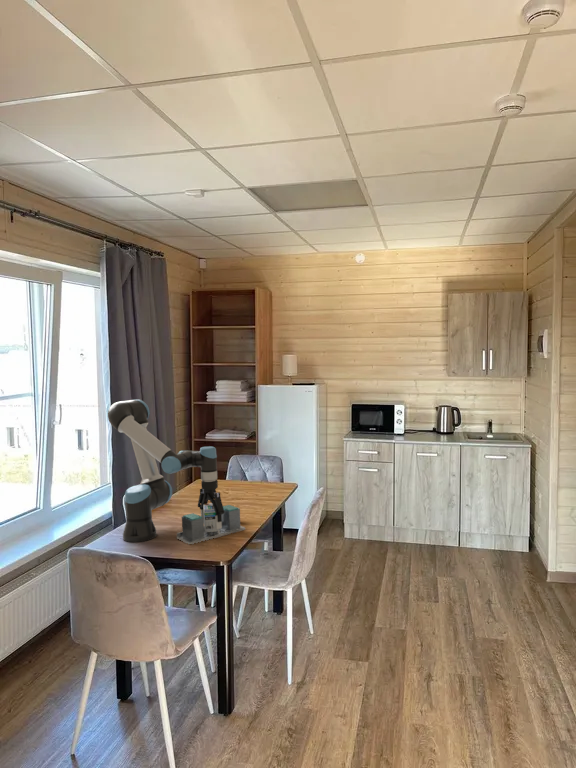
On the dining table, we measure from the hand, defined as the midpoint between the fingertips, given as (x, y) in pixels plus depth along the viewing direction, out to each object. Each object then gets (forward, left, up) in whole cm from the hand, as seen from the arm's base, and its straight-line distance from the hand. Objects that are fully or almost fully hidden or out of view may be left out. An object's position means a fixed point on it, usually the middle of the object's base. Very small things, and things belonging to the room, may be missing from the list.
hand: (211, 525), depth 260 cm
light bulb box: (0, 0, -2) cm, 2 cm away
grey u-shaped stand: (0, 0, -4) cm, 4 cm away
